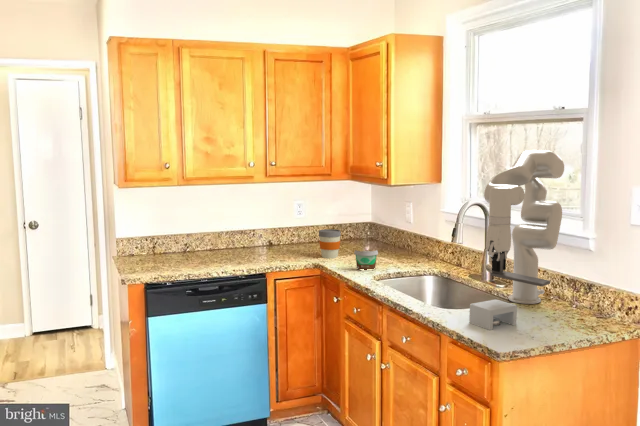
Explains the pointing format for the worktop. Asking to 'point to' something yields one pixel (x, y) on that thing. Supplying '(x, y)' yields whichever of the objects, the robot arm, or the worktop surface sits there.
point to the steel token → (496, 321)
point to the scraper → (517, 275)
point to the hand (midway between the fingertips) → (498, 269)
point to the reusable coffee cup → (329, 242)
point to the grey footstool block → (492, 313)
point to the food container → (366, 259)
